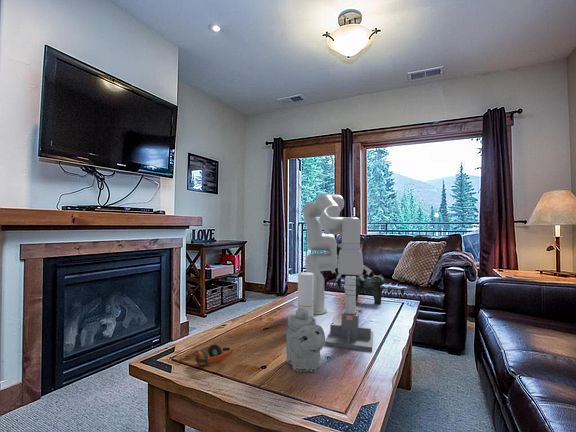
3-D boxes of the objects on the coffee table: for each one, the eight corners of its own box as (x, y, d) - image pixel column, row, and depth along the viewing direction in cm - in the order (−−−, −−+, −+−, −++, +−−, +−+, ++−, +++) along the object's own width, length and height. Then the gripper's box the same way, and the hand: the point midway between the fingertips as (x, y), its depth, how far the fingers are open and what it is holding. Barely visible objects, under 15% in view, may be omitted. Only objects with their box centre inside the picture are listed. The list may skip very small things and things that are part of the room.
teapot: (319, 383, 92) (319, 320, 93) (273, 374, 98) (274, 314, 98) (332, 361, 108) (332, 307, 108) (291, 354, 113) (292, 302, 114)
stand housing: (324, 345, 121) (325, 317, 122) (331, 330, 139) (331, 305, 139) (372, 351, 116) (372, 322, 117) (373, 334, 133) (373, 309, 134)
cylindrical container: (315, 327, 143) (315, 273, 143) (309, 331, 136) (310, 275, 137) (301, 324, 146) (301, 271, 146) (295, 329, 139) (295, 274, 140)
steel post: (344, 321, 126) (345, 277, 127) (345, 318, 130) (346, 275, 131) (354, 322, 125) (355, 278, 126) (355, 319, 129) (355, 276, 129)
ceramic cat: (384, 303, 187) (384, 270, 187) (381, 305, 181) (381, 271, 182) (353, 299, 198) (353, 267, 198) (349, 301, 192) (349, 268, 193)
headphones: (206, 339, 120) (243, 338, 109) (208, 353, 119) (245, 354, 108) (167, 354, 106) (205, 355, 95) (169, 370, 105) (208, 373, 94)
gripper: (328, 246, 127) (328, 289, 127) (372, 248, 122) (371, 292, 122) (331, 245, 134) (331, 285, 134) (372, 247, 129) (372, 288, 129)
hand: (350, 288), depth 128 cm, fingers open, 8 cm apart
